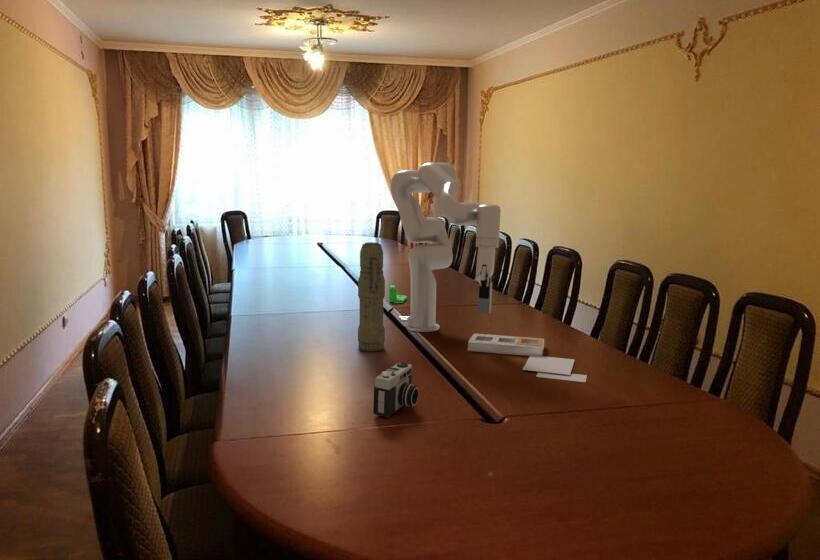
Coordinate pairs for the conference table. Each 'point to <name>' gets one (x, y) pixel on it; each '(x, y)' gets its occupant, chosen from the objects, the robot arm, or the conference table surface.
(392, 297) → the mechanical part
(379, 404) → the camera
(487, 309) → the peg
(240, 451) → the conference table surface
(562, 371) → the paper stack
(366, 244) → the stone statue
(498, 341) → the white compartment tray
